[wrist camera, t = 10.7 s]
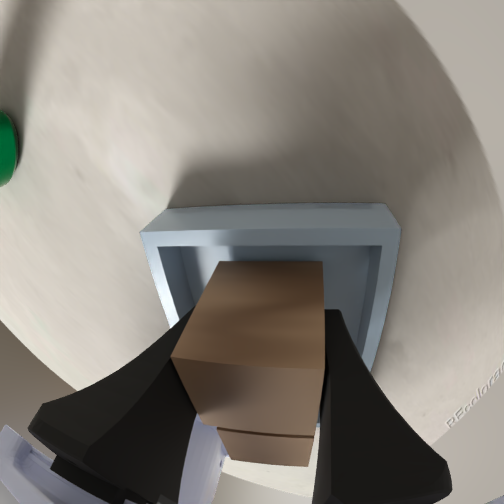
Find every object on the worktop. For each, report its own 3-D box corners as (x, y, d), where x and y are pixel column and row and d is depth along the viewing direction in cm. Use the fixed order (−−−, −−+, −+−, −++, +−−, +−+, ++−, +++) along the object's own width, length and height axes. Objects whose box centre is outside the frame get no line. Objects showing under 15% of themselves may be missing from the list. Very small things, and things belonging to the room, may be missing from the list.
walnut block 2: (318, 349, 14) (314, 438, 10) (314, 392, 16) (308, 466, 11) (240, 346, 15) (216, 429, 10) (248, 388, 16) (231, 459, 12)
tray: (350, 397, 16) (351, 426, 14) (217, 390, 18) (208, 417, 16) (385, 203, 10) (401, 228, 8) (165, 208, 12) (139, 232, 10)
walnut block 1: (322, 261, 11) (324, 369, 6) (318, 336, 13) (314, 435, 8) (219, 260, 12) (170, 356, 7) (233, 333, 13) (203, 424, 9)
